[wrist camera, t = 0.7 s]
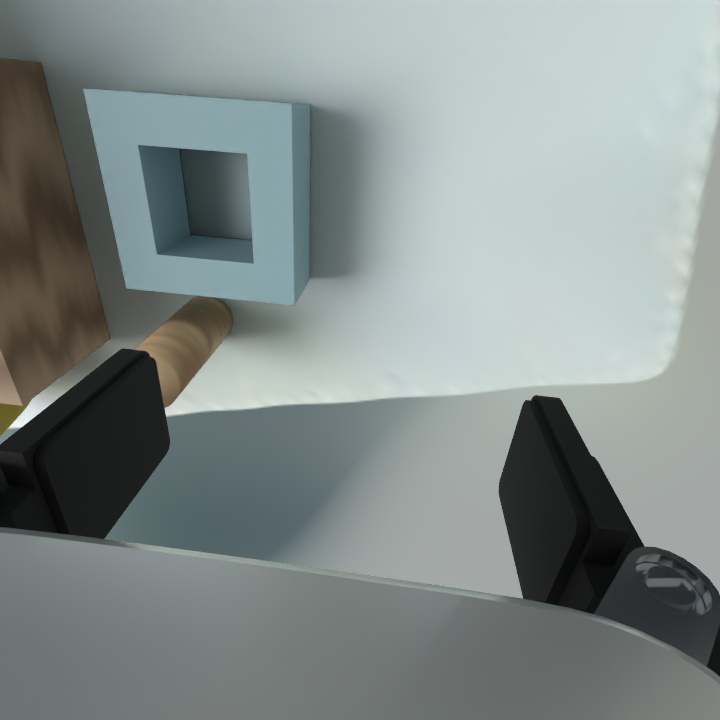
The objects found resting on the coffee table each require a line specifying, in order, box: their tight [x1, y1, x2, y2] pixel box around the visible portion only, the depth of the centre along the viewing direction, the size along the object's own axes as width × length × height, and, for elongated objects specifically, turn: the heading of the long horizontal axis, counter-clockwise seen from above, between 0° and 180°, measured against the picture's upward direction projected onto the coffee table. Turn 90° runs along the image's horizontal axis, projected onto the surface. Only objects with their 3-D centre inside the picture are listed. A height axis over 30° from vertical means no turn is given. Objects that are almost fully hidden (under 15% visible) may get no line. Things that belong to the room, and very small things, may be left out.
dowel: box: [134, 296, 233, 408], centre depth 32 cm, size 4×4×10 cm
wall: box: [0, 58, 110, 406], centre depth 29 cm, size 20×2×10 cm, turn 176°
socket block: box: [83, 89, 310, 305], centre depth 29 cm, size 12×12×5 cm
